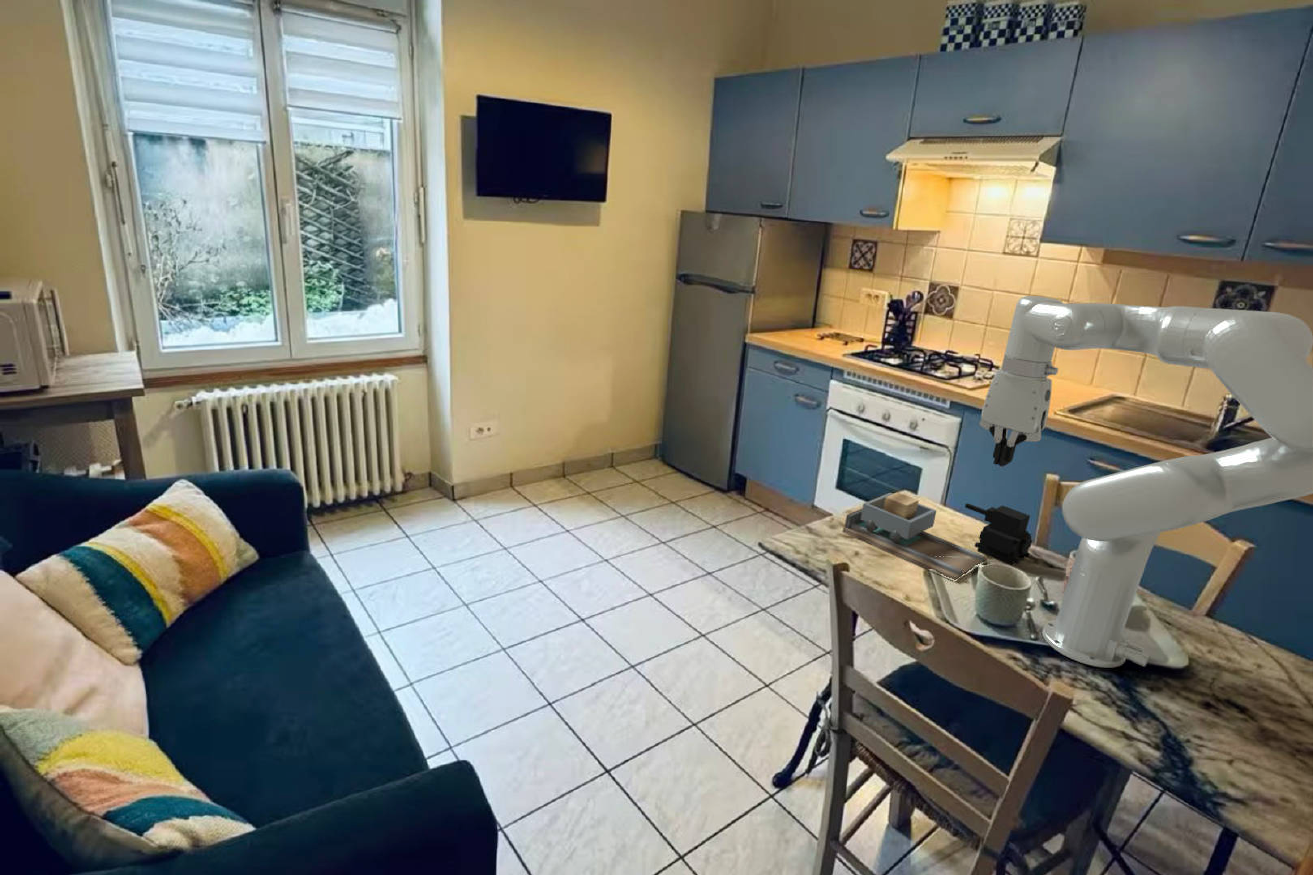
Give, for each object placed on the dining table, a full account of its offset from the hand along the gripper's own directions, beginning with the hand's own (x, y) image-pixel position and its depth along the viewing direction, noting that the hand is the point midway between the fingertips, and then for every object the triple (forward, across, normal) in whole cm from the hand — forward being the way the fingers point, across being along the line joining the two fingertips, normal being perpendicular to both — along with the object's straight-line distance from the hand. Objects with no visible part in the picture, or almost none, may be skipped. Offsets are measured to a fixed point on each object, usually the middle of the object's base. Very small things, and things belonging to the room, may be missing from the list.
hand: (1001, 463), depth 133 cm
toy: (+25, +4, -18) cm, 31 cm away
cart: (+23, +20, -4) cm, 30 cm away
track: (+25, +15, -4) cm, 29 cm away
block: (+20, +19, -4) cm, 28 cm away
